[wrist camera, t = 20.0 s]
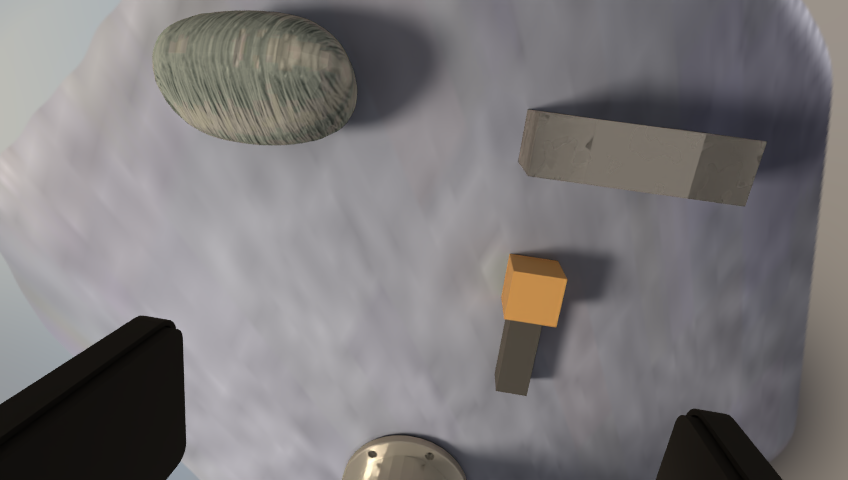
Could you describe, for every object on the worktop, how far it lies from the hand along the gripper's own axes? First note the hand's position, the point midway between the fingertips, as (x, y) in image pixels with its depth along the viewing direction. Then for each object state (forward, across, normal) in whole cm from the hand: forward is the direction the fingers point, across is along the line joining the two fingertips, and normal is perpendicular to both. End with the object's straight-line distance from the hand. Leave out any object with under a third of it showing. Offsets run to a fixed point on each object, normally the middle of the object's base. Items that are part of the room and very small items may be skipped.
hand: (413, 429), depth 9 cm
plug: (+30, -7, +12) cm, 33 cm away
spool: (+31, +15, -6) cm, 35 cm away
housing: (+30, -11, -4) cm, 32 cm away
